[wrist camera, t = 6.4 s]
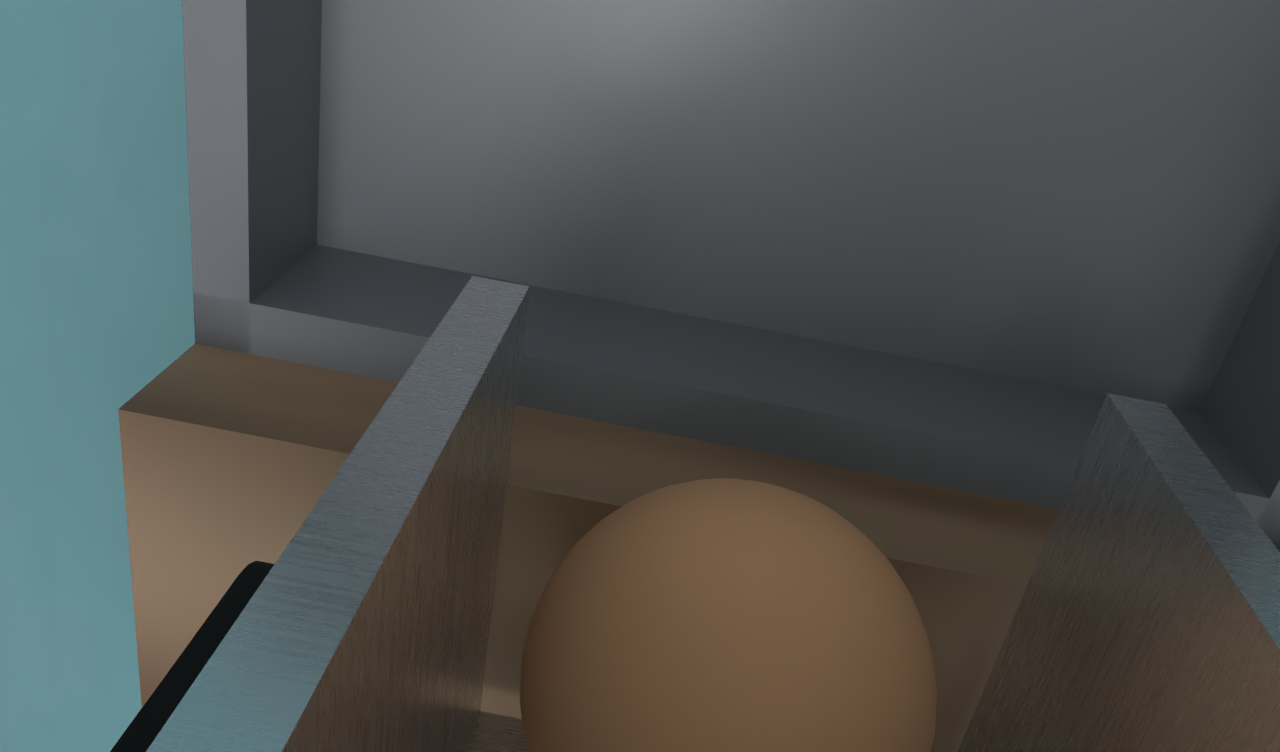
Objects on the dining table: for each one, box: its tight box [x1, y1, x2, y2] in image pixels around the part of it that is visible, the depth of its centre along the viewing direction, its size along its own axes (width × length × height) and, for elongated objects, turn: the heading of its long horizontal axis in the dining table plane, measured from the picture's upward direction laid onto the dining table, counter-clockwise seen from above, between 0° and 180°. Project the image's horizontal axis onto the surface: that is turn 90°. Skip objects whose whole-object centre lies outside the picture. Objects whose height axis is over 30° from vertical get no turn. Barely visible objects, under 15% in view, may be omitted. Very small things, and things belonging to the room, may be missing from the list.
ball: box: [520, 478, 937, 752], centre depth 11 cm, size 4×4×4 cm
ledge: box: [119, 344, 1059, 752], centre depth 17 cm, size 8×16×5 cm, turn 81°
